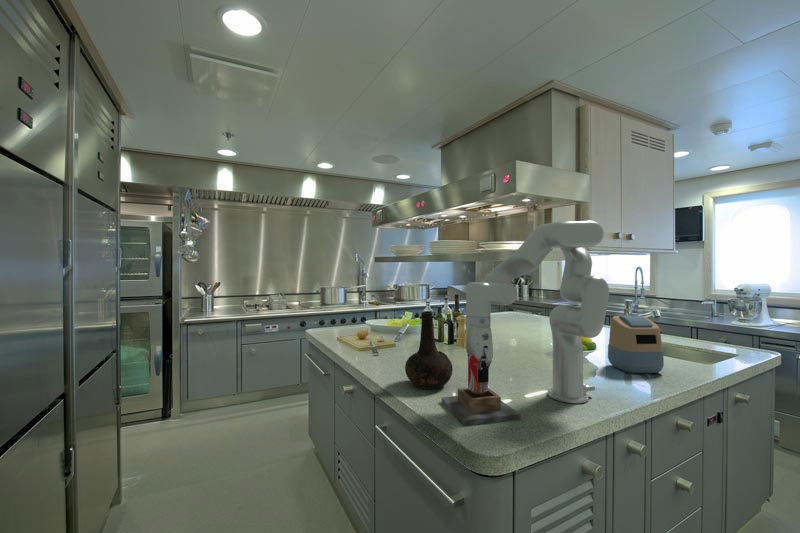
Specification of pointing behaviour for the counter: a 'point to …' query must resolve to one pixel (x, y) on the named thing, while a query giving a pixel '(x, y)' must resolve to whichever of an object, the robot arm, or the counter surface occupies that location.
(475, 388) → the beverage can
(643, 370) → the tan and blue appliance
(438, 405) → the counter surface
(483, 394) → the can holder
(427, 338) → the dark brown vase
